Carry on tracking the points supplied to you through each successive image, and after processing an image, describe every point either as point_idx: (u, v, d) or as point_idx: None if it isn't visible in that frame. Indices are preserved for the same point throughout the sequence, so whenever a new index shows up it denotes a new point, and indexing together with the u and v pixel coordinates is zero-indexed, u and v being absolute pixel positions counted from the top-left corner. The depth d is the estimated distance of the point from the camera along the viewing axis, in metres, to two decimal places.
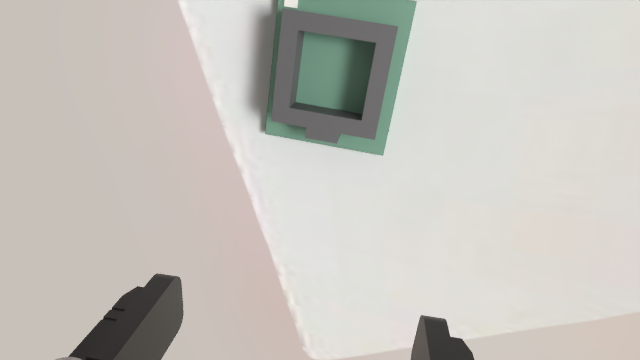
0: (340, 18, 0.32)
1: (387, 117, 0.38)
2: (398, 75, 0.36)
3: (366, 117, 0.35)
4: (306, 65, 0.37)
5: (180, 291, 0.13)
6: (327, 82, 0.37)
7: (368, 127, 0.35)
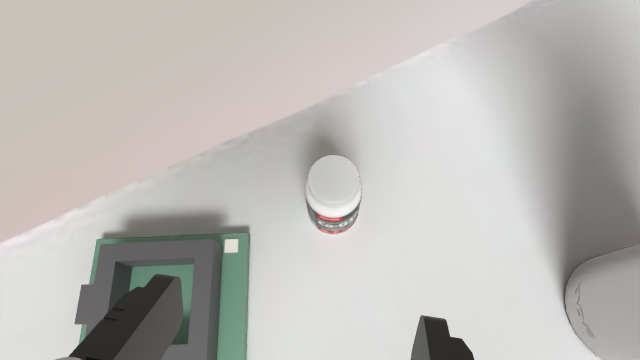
0: (208, 299, 0.31)
1: None
2: None
3: None
4: (171, 271, 0.35)
5: (180, 291, 0.13)
6: None
7: None
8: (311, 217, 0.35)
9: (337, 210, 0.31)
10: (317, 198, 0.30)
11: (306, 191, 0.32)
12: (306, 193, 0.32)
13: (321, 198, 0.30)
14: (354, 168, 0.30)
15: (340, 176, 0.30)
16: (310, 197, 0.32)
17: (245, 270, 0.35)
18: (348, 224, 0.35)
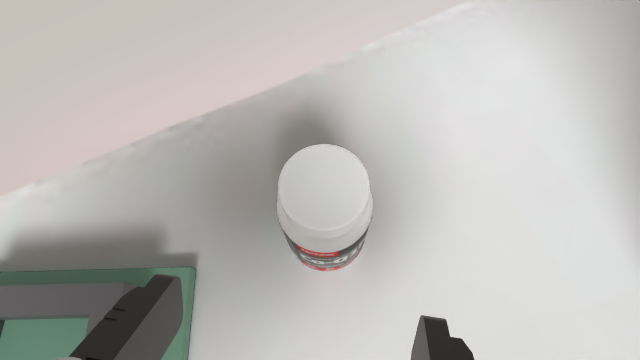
0: None
1: None
2: None
3: None
4: (64, 329, 0.22)
5: (180, 291, 0.13)
6: None
7: None
8: (290, 246, 0.22)
9: (329, 241, 0.18)
10: (294, 221, 0.17)
11: (278, 206, 0.19)
12: (278, 209, 0.19)
13: (301, 220, 0.16)
14: (361, 168, 0.17)
15: (336, 183, 0.17)
16: (284, 217, 0.18)
17: (182, 329, 0.22)
18: (349, 258, 0.22)
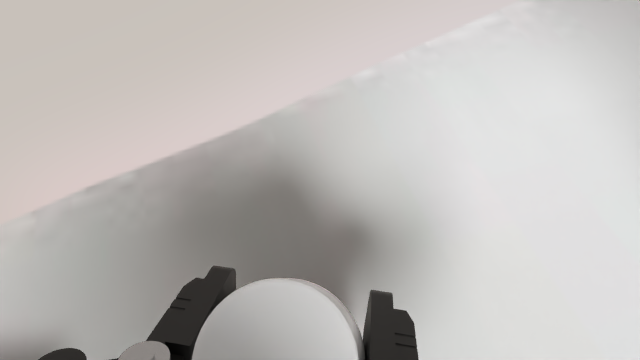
0: None
1: None
2: None
3: None
4: None
5: (234, 282, 0.14)
6: None
7: None
8: None
9: None
10: None
11: None
12: None
13: None
14: (342, 330, 0.09)
15: None
16: None
17: None
18: None
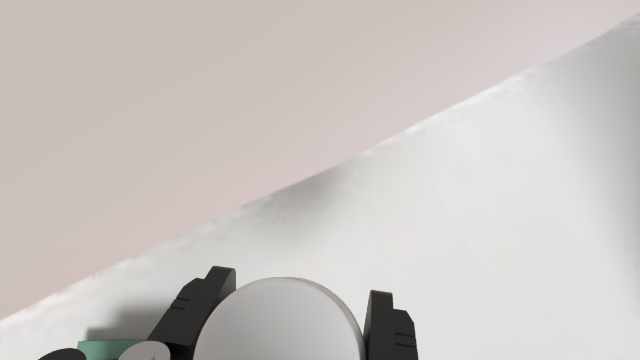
0: None
1: None
2: None
3: None
4: None
5: (235, 282, 0.14)
6: None
7: None
8: None
9: None
10: None
11: None
12: None
13: None
14: (344, 329, 0.09)
15: None
16: None
17: None
18: None
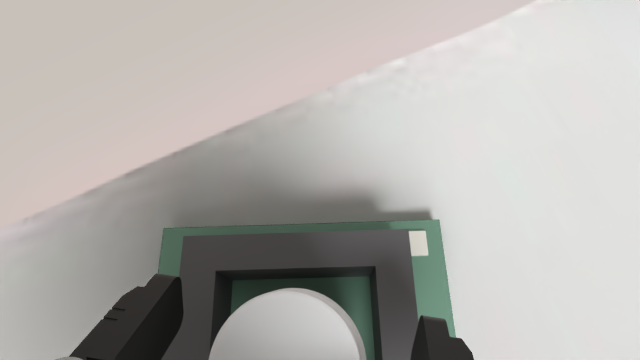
0: None
1: None
2: None
3: None
4: None
5: (180, 291, 0.13)
6: None
7: None
8: None
9: None
10: None
11: None
12: None
13: None
14: (346, 338, 0.10)
15: None
16: None
17: (447, 290, 0.19)
18: None
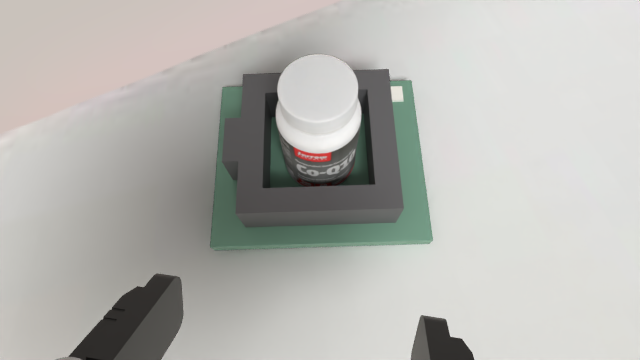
0: (394, 134, 0.24)
1: (270, 239, 0.25)
2: (332, 240, 0.25)
3: (268, 194, 0.23)
4: None
5: (180, 291, 0.13)
6: None
7: (253, 200, 0.23)
8: (287, 162, 0.24)
9: (323, 140, 0.20)
10: (291, 115, 0.19)
11: (277, 114, 0.21)
12: (277, 117, 0.21)
13: (298, 114, 0.19)
14: (350, 72, 0.20)
15: (328, 84, 0.19)
16: (282, 122, 0.21)
17: (415, 121, 0.28)
18: (341, 173, 0.24)
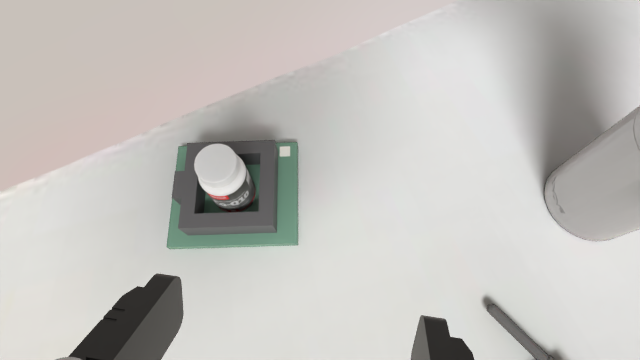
0: (272, 181, 0.41)
1: (201, 242, 0.42)
2: (238, 243, 0.42)
3: (197, 217, 0.40)
4: None
5: (180, 291, 0.13)
6: None
7: (188, 220, 0.40)
8: None
9: (220, 190, 0.38)
10: (200, 178, 0.36)
11: None
12: (198, 176, 0.38)
13: (203, 178, 0.36)
14: (233, 154, 0.37)
15: (221, 161, 0.37)
16: (200, 179, 0.38)
17: (296, 169, 0.45)
18: (241, 203, 0.42)
